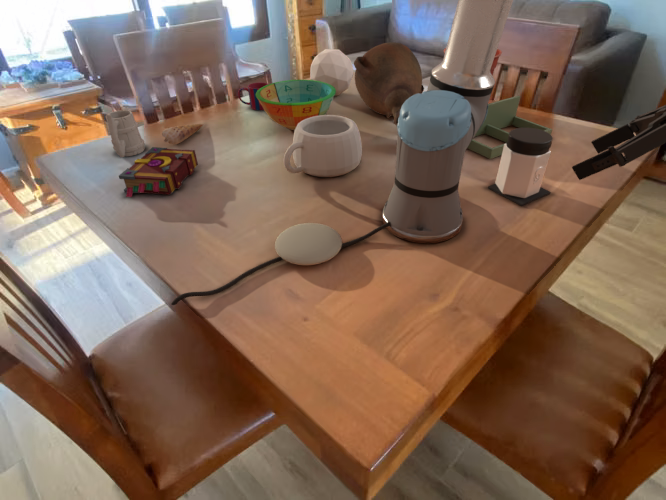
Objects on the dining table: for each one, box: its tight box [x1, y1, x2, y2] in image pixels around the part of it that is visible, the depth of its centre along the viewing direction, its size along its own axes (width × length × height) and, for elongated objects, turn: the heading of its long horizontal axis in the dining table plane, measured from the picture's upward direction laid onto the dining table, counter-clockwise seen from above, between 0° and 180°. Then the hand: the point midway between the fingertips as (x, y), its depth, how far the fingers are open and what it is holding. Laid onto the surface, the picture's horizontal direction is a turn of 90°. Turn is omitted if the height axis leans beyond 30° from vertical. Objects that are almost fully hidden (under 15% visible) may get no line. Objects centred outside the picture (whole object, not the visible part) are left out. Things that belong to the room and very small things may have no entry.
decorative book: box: [118, 146, 199, 198], centre depth 98 cm, size 11×16×5 cm
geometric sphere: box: [309, 48, 354, 97], centre depth 143 cm, size 14×15×15 cm
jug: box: [353, 41, 425, 127], centre depth 122 cm, size 20×20×30 cm
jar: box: [494, 127, 553, 198], centre depth 88 cm, size 9×8×12 cm
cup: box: [237, 81, 269, 111], centre depth 136 cm, size 7×10×7 cm
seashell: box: [161, 123, 205, 145], centre depth 118 cm, size 4×18×5 cm, turn 159°
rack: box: [467, 95, 553, 160], centre depth 111 cm, size 22×13×8 cm, turn 121°
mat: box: [487, 183, 552, 207], centre depth 92 cm, size 9×9×1 cm
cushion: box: [274, 222, 343, 266], centre depth 76 cm, size 12×12×3 cm
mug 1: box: [105, 109, 146, 158], centre depth 108 cm, size 8×12×12 cm, turn 5°
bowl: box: [256, 79, 336, 131], centre depth 122 cm, size 22×22×10 cm
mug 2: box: [283, 114, 363, 178], centre depth 100 cm, size 21×17×10 cm
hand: (585, 159), depth 80 cm, fingers open, 13 cm apart
